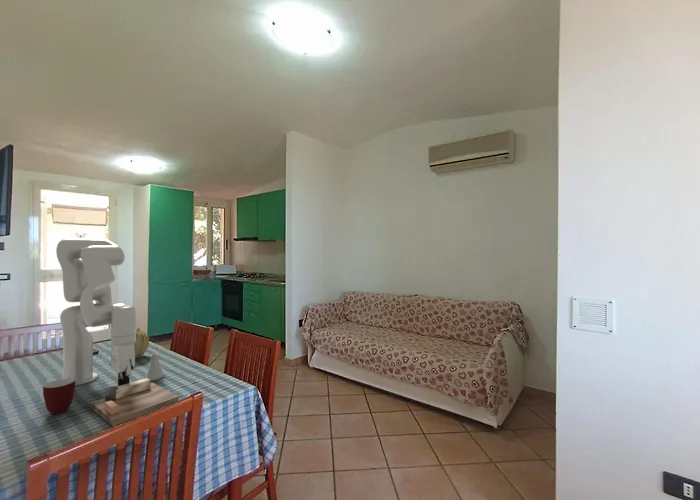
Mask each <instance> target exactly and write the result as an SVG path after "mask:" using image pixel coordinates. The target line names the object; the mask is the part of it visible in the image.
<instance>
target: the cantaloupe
mask: <svg viewBox="0 0 700 500" xmlns="http://www.w3.org/2000/svg"><path fill="white" fill-rule="evenodd" d="M140 329H141V328H140V327H138V328H137V329H136V342H135V343H134V350H135V359H137V358H140V357H141V356H143V355H144V354H145V353H146V351H147V350H148V348H149V346H150V339H149V336H148V334H147V333H146V332H144V331H143V330H140Z"/></svg>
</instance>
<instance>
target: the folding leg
mask: <svg viewBox="0 0 700 500" xmlns="http://www.w3.org/2000/svg"><path fill="white" fill-rule="evenodd" d="M144 378H145V377H144ZM144 378H142V379H138V380H135V381H131V382H130V383H128V384H124V385H121V386H118V385H117V386H110V387H107V388H105V389H104V398H105V401H113V400H115V399H118V398H121V397H124V396H128V395H131V394H134V393H137V392H140V391H143V390H146V389H150V388H151V384H152V383H151V380H150V379H148V378H145V379H144Z"/></svg>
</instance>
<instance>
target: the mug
mask: <svg viewBox="0 0 700 500" xmlns="http://www.w3.org/2000/svg"><path fill="white" fill-rule="evenodd" d="M75 390H76V386H75V379H72V378H68V379H63V378H61V379H57V380H53V381H49V382H47V383H45V384H44V385H43V386H42V395H43V400H44V403H45V404H44V405H45V408H46V410H47V411H48V413H49V414H50V415H51V416H60V415H63V414H65V413H67V412H68V410H69V409H70V407H71V405H72V404H73V399H74V395H75Z"/></svg>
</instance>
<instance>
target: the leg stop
mask: <svg viewBox="0 0 700 500" xmlns="http://www.w3.org/2000/svg"><path fill="white" fill-rule="evenodd" d="M105 410H106V411H107V412H108V413H110V414H111V415H113V414H116V413H118V405H117V404H116V403H114V402H113V401H108V402H105Z"/></svg>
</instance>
